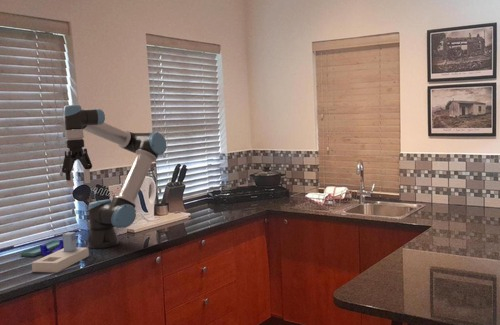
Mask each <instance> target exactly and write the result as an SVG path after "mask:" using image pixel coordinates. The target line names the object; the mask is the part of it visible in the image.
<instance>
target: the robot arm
mask: <svg viewBox="0 0 500 325" xmlns="http://www.w3.org/2000/svg"><path fill="white" fill-rule="evenodd" d="M62 119H63V123H64V128H65V136H66V148H68V149H69V150H65V151H64V157H63V158H64V159H63V164H62V169H61V172H62V174H65V180H66V188H68V189H69V188H74V180H73V172H72V170H73V167H74V165H75V162H77V160H78V161H79V162H80V164H81V165H82V167H83V180H84V182H83V183H84V184H91V172H90V170H91V169H92V168H93V164H92V160H91V159H90V156H89V154H88V149H87V148H84V147H85V139H83V138H85V137H84V136H85V135H84V131H86V132H88V133H90V134H93V135H95V136H98V137H100V138H102V139H104V140H107V141H109V142H112V143H115V144H116V145H118V146H119V148H121V149H124V150H126V151H128V152H130V153H133V154H136V157H135V159H134V161H133V163H132V165H131V167H130V170H129V172H128V174H127V176H126V178H125V180H124V182H123V184H122V186H121V189H120V190H119V193H118V195H116V196H115V195H114V196H113V199H110V198H108V199H103V200H101V199H100V200H96V201H93V202H89V203H88V217H89V219H88V220H89V228H90V230H89V232H90V233H89V236H88V240H87V248H88V249H89V248H91V249H105V248H112V247H114V246H117V245H118V244H119V237H118V235H117V233H116V230H115V228H117V229H118V228H119V229H120V228H121V229H123V228H124V229H125V228H128V227H130V226H132V224H134V221H135V220H136V217H137V213H136V212H137V211H136V210H137V209H136V203H135V201H136V199H137V196H138V194H139V192H140V190H141V188H142V186H143V183H144V181H145V180H146V176H147V175H148V173H149V170H150V168H151V166H152V164H153V162H156V161H157V160H158V157H159V156H160V155H163V154H164V153H165V152H166V150H167V141H166V138H165V136H164V135H163V134H161V133H160V132H154V131H151V132H131V131H130V130H129V131H128V130H122V129H120V128H118V127H116V126H113V125H111V124H108V123H106V122H105V121H106V114H105V112H104V111H103V110H102V109H99V108H91V109H90V108H88V109H82V106H81V105H80V104H71V105H70V104H69V105H65V106H64V107H63V117H62Z"/></svg>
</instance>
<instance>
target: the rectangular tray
mask: <svg viewBox="0 0 500 325" xmlns="http://www.w3.org/2000/svg"><path fill="white" fill-rule="evenodd" d="M60 240H61V239H54V240H51V241H47V242H45V243H43V244H44V245H46V246H47V249H48V250H49V251H53V250H55V249H57V247H58V246H59V243H60ZM40 245H41V244H40ZM40 245H37V246H34V247H31V248H28V249H26V250H22V251H20V252H19V254H20V255H21V256H22V257H32V258H33V257H34V258H35V257H38V256H40V255H41V250H40Z"/></svg>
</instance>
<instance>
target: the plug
mask: <svg viewBox="0 0 500 325" xmlns="http://www.w3.org/2000/svg"><path fill="white" fill-rule="evenodd" d="M62 239H63V245H64V252H74V251H76V250H77V234H76V232H75V231H72V232H71V231H67V232H65V233H62Z"/></svg>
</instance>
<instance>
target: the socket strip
mask: <svg viewBox="0 0 500 325" xmlns="http://www.w3.org/2000/svg"><path fill="white" fill-rule="evenodd" d="M89 254H90V252H89V247H77V250H76V251H74V252H64V248H63V249H61V250H58V251H56V252H54V253H52V254H50V255H47V256H44V257H41V258H38V259H37V260H34V261H32V262H31V269H32V270H31V271H32V272H33V273H56V274H57V273H59V272H61V271H63V270H65V269H66V268H68V267H71V266H72V265H74V264H76V263H78V262H80V261H82V260H84V259H87V258H88V257H89V256H90V255H89Z"/></svg>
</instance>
